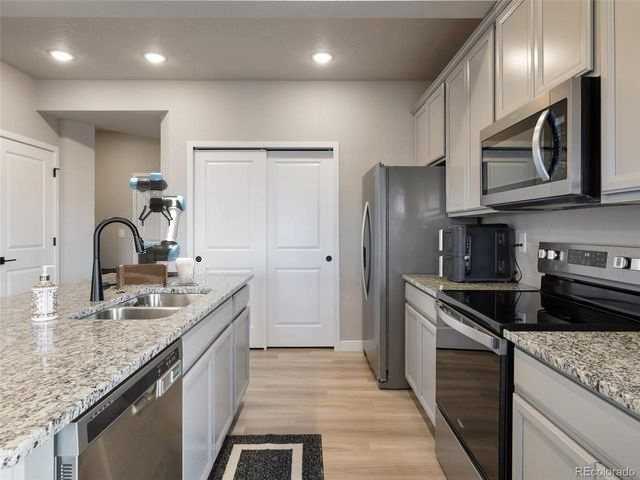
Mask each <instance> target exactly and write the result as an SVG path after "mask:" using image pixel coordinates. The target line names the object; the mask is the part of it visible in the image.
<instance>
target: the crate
mask: <svg viewBox="0 0 640 480" xmlns="http://www.w3.org/2000/svg"><path fill="white" fill-rule="evenodd" d="M115 268H116V270H115V272H116V273H115V274H116V281H115V282H116V283H115V286H116V290H118V289H119V288H120V289H121V288H123V287H124V286H126V285H127V286H128V285H130V284H133V285H153V284H156V283H158V284H162V287H163V286H166V287H167V286H168V283H169V282H168V281H169V280H168V277H169V276H168V275H169V274H168V263H156V264H138V263H135V264H133V263H131V264H120V265H116V266H115ZM124 284H126V285H124ZM156 285H157V284H156ZM130 286H131V285H130ZM120 289H119V290H120Z"/></svg>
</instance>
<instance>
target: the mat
mask: <svg viewBox="0 0 640 480" xmlns="http://www.w3.org/2000/svg"><path fill="white" fill-rule="evenodd" d="M191 281H192V280H191ZM193 285H197V286H199V281H198V280H195V281H192V283H190V284H178V281H172V282H171V284H170V287H171V286H174V287H191V286H193Z"/></svg>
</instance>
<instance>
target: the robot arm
mask: <svg viewBox="0 0 640 480" xmlns="http://www.w3.org/2000/svg"><path fill="white" fill-rule="evenodd" d="M168 186H169V185H168V181H166V180H165V179H164V177H163V174H162V173H159V172H151V173H150V174H149V178H145V177H143V178H140V177H133V178H132V177H131V178H130V180H129V187H130V189H131V190H133V191H138V192H139V193H140V194H141V195H142V196H143V198H144V199H146V202H147V204H148V205H145V204H144V206H143V210H142V212H141V213H140V215H139V217H138V220H139V221H141V226H142V227H143V232H146V226H147V225H146V219H147V218H148V217H149V216H150V215H151V214H152V213H155V214H156V213H157V214H159V213H161V214H162V215H163V217H165V218H166V219H165V220H166V221H165V227H164V235H163V240H161V241H160V244H157V243H156V242H151V243H144V246H145V250H146V253H144V254H139V253H138V252H137V264H157V262H169V263H170V262H176V259H177V258H180V252H181V248H180V245H179V243H178V242H177V237H178V231H179V223H180V217H181V216H182V214H183V212H185V211H186V203H185V197H183V196H181V195H163V193H164V192H163V191H166V190H167V189H168ZM148 209H149V211H148V212H147V213H146V214H145V212H146V211H147V210H148ZM143 216H144V217H143Z"/></svg>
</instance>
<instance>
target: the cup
mask: <svg viewBox="0 0 640 480" xmlns="http://www.w3.org/2000/svg"><path fill="white" fill-rule="evenodd" d="M194 267H195V261H194V258H193V257H178V258H177V259H176V261H175V269H176V272H177V274H178V281H177V282H178V284H190V283H192V272H193V270H194Z"/></svg>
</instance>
